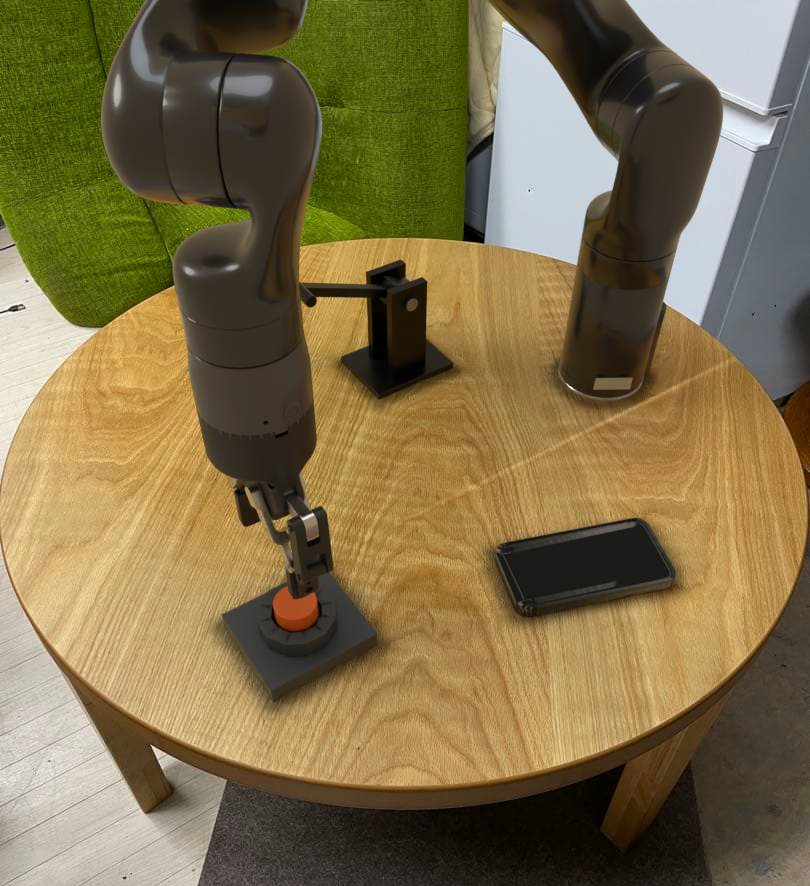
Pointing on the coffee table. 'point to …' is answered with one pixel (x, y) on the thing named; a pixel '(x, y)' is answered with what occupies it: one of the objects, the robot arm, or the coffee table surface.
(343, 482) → the coffee table surface
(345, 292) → the switch lever
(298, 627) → the button
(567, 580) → the phone
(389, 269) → the switch bracket
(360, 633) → the control block
